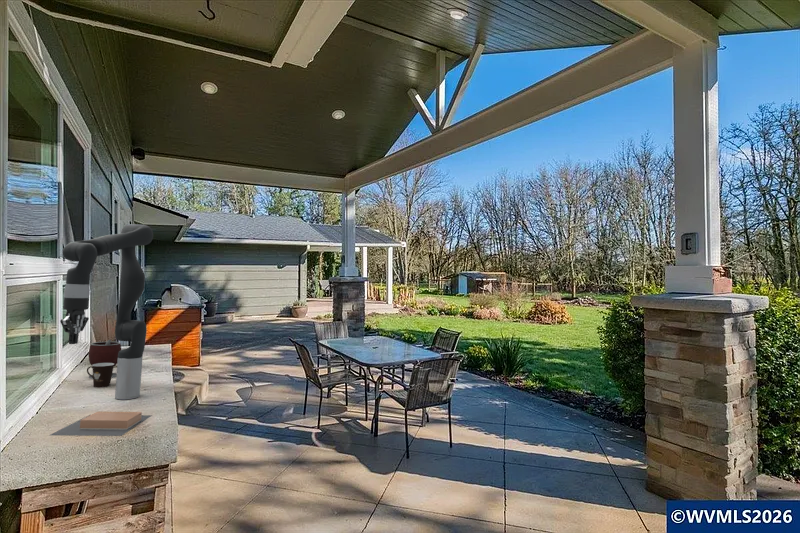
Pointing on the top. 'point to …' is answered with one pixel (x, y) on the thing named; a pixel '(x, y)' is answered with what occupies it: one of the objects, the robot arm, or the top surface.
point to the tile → (111, 420)
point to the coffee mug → (101, 374)
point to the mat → (76, 431)
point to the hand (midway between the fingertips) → (73, 343)
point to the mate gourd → (104, 353)
